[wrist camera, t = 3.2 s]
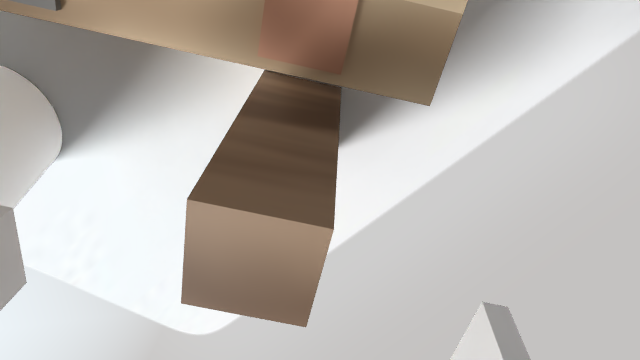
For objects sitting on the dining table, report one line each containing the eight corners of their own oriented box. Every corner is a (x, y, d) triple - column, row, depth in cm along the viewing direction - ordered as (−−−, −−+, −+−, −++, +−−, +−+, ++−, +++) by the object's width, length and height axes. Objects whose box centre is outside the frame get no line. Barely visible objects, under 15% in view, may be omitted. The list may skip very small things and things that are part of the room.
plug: (264, 70, 22) (186, 199, 11) (341, 87, 22) (333, 229, 12) (254, 140, 24) (181, 303, 13) (325, 155, 24) (305, 327, 14)
